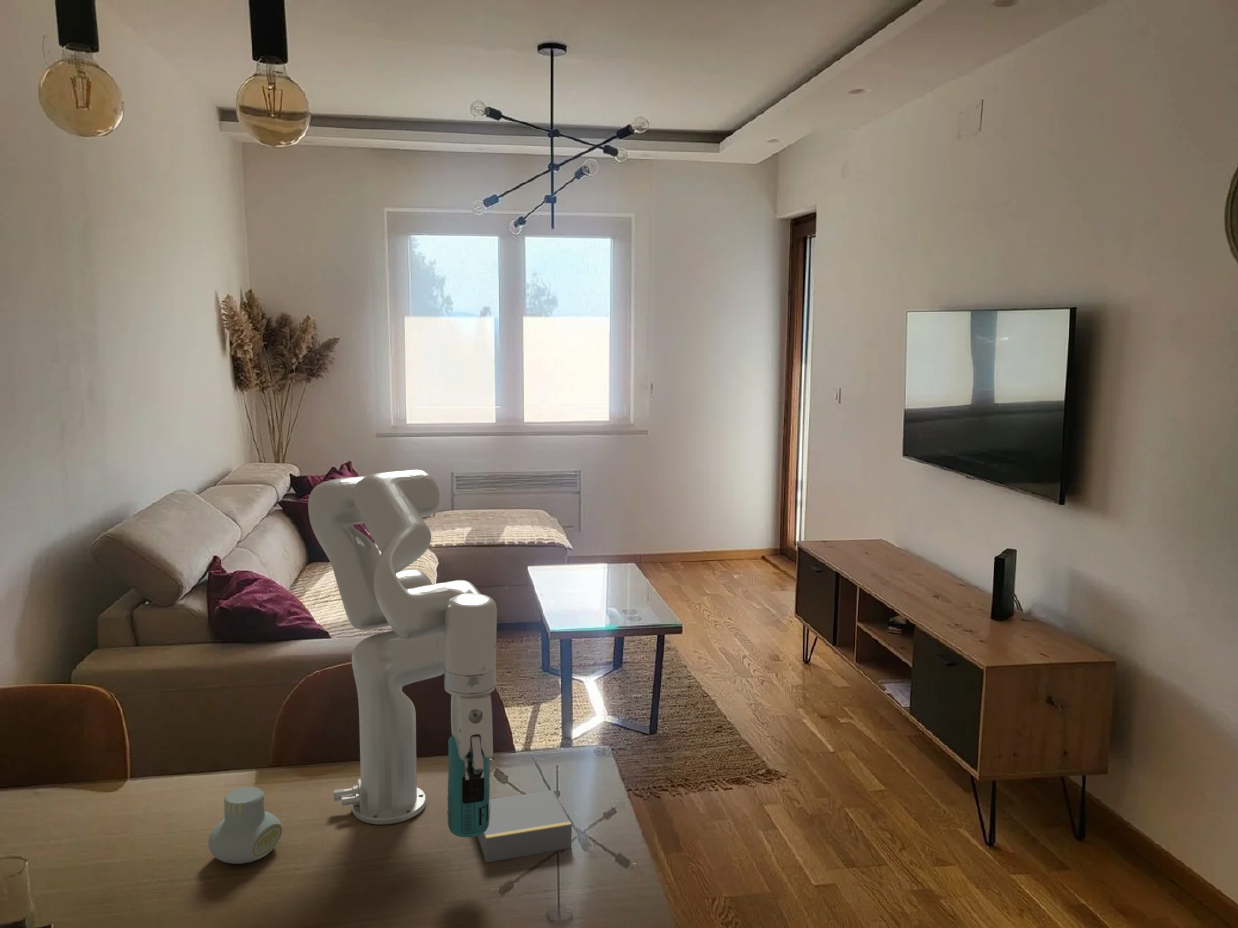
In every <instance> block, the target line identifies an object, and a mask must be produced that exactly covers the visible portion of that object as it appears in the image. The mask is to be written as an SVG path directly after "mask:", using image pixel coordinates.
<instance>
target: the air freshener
mask: <svg viewBox="0 0 1238 928" xmlns="http://www.w3.org/2000/svg"><path fill="white" fill-rule="evenodd" d="M223 804H224V805H223V811H224V818H222V820H220V821H219V822H218V823H217V824H216V825H215V826H214V827H213V829H212V831H211V833H210V834H209V837H208V840H207V841H208V844H207V845H208V848H209V851H210V853H211V854H212V855H213V856H214V858H216V859H217V860H219V861H221V862H224V863H227V864H231V865H234V864H237V865H241V864H248V863H252V862H255V861H258V860H260V859H261V858H263V857H265V856H267V855H268V854H269V853H270V852H271V851H273V849H275V847H276V846H277V844H278V843H279V841H280V839H281V837H282V835H283V827H282V823H281V821H280V820H279V818H278V817H277V816H275V814H273V813H272V812H270V811H266V810H265V809H266V808H265V793H264V791H263V790H262V789H261V788H259V787H255V786H243V787H239V788H235V789H234V790H231V791H230V792H229V793H227V794H226V795H225V796H224V798H223Z"/></svg>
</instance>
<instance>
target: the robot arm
mask: <svg viewBox="0 0 1238 928" xmlns="http://www.w3.org/2000/svg"><path fill="white" fill-rule="evenodd" d="M440 499H441V496H440V490H439V487H438V485H437V482H436V480H435V479H434V477H433V476H432V475H431V474H430V473H428V472H426V471H425V470H421V469H408V470H407V469H405V470H395V471H384V472H383V471H382V472H375V473H372V474H368V475H363V476H361V475H360V476H350V477H341V478H335V479H330V480H326V481H324V482H321V483H319V484H317V485H316V486H315V487H313V488H312V490H311V492H310V494H309V496H308V501H307V502H308V503H307V507H308V510H307V511H308V517H309V523H310V526H311V529H312V532H313V534H314V535H315V538H316V539H317V542H318V544H319V545H320V546H321V548H322V550H323V552H325V553H324V554H326V556H327V558H328V560H329V562H330V565H331V567H332V571H333V575H334V577H335V581H336V585H337V588H338V592H339V595H340V598H341V602H342V605H343V608H344V611H345V615H346V617H347V619H348V621H349V623H350V625H351V626H352V627H353V628H355V630H359V631H370V630H375V629H381V628H388V627H390V628H391V629H392V630H389V631H384V632H381V633H377V634H373V635H370V636H367V637H366V638H365V637H364V639H362V640H361V641H359V642H358V643H357V644H356V645H355V647H354V649H353V651H352V654H351V666H352V670H353V677H354V682H355V685H356V686H355V687H356V690H357V691H356V692H357V698H358V699H357V700H358V702H357V703H358V718H359V719H358V721H359V722H358V723H359V759H360V764H359V765H360V778H358V780H357V784H355V785H352V787H349V788H338V789H334V790H333V802H340V801H341V806H342V807H344V806H350V805H351V808H352V809H351V810H352V814H353V815H354V817H355V818H357V820H360V821H362V822H364V823H366V824H372V825H391V824H393V825H394V824H398V823H401V822H405V821H408V820H410V819H413V818H414V817H416V816H417V815H419V814H420V813H421V812H422V811H423V810H424V808H425V807H426V806H427V805H426V804H427V796H426V794H425V792H424V791H423V790H422V789H421V788H419V787H418V786H417V784H418V783H417V723H416V722H417V719H416V717H417V715H416V708H415V705H414V703H413V701H412V700H411V699H410V698H409V697H408V696H407V694H405V693H404V692H403V687H404V686H407V685H411V684H414V683H416V682H417V683H418V682H421V681H424V680H428V679H432V678H433V679H434V678H437V677H439V676H442V675H444V682H443V683H444V691H445V692H446V693H448V694H450V696H451V699H450V725H451V729H450V730H451V736H452V735H454V738H455V741H456V745H457V749H458V755H459V757H460V759H461V760H463V761H464V777H462V802H463V804H468V803H475V802H482V801H483V800H484V765H483V752H484V755H485V757H486V758H489V759H491V758H492V757H493V756H494V740H493V739H494V738H493V736H494V735H493V734H494V733H493V711H492V710H493V709H492V698H491V693H492V692H494V691H495V689H496V681H497V680H496V679H497V677H496V676H497V625H498V623H497V622H498V621H497V619H498V615H497V614H498V610H497V609H498V608H497V607H498V606H497V603H496V602H495V600H494V599H493V598H492V597H491V596H488V595H486V594H482V593H481V592H480V590H478V588H477V587H476V586H475V585H474V584H473V583H472V582H470V581H469V580H466V579H455V580H451V581H450V580H449V581H445V582H438V583H433V582H432V581H431V579H430V577H429V576H428V575H427V574H426V573H425V572H423V571H421V570H420V569H417V568H408V566H410V565H412V564H413V563H415V562H416V561H417V560H419V559H420V558H421V557H422V556H423V555H424V554H425V553H426V551H427V550H428V549H429V547H430V545H431V541H432V532H431V529H430V527H429V526H428V525H427V523H426V522H425V520H424V519H423V518H426V517H431V516H432V515H434V514H435V513H436V512H437V510H438V508H439V505H440V502H441V501H440ZM359 524H361V525H362V524H364V526H365V527H366V529H367V531H368V532H369V534H370V536H371V538H372V539H373V541H372V540H371V539H370V538H368V536H366V534H364V533H362V532H361V531H360V530H358V529H356V527H354V525H359ZM474 714H476V715H474ZM468 752H472V757H467V754H468ZM470 761H473V765H472V767H470V769H469V766H468V762H470Z"/></svg>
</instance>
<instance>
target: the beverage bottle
mask: <svg viewBox="0 0 1238 928" xmlns="http://www.w3.org/2000/svg"><path fill="white" fill-rule="evenodd" d="M474 715H476V714H474ZM447 746H448V757H447V759H448V766H447V767H448V771H447V773H448V776H447V796H446V797H447V799H446V800H447V809H446V811H447V819H446V820H447V822H446V823H447V827H448V829H449V831H450V833H452V834H453V835H454V836H457V837H460V838H474V837H477V836H478V835H481V834H483V833H484V832H485V831H486V830H487V828H488V826H489V824H490V823H489V818H490V816H489V812H490V811H489V800H490V798H491V797H490V796H491V795H490V792H491V785H490V784H491V783H490V778H491V777H490V774H491V769H490V768H491V765H490V764H491V761H490V758H486V757H485V755H484V752H483V765H484V800H483V801H482V802H475V803H468V804H463V802H462V777H464V761H463V760H461V759H460V757H459V755H458V749H457V745H456V741H455V738H454V735H452V734H451V736H450V737H449V739H448V741H447ZM467 757H472V752H468V754H467ZM472 765H473V761H470V762H468V766H469V769H470V767H472Z"/></svg>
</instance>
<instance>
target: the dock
mask: <svg viewBox="0 0 1238 928" xmlns="http://www.w3.org/2000/svg"><path fill="white" fill-rule="evenodd" d="M489 811H490V812H489V816H490V818H489V823H490V824H489V826H488V828H487V830H486V831H485V832H484V833H483V834H481V835H478V836H476V837H477V840H478V843H479V844H480V849H481V851H482V854H483V857H484V860H485V862H486V863H492V862H497V861H503V860H509V859H513V858H514V859H515V858H519V857H520V858H521V857H526V856H531V855H537V854H538V855H539V854H543V853H549V852H555V851H561V850H567V849H572V834H573V833H572V829H573V828H572V827H573V826H572V822H571V821H570V820H569V819H570V818H569V817H568V816H567V814H566V812H565V810H564V808H563V806H562V805H561V803H560V801H559V799H558V797H557V796H556V793H555V792H554V790H553V789H551V790H545V791H539V792H531V793H525V794H517V795H512V796H504V797H499V798H498V797H497V798H489Z"/></svg>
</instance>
